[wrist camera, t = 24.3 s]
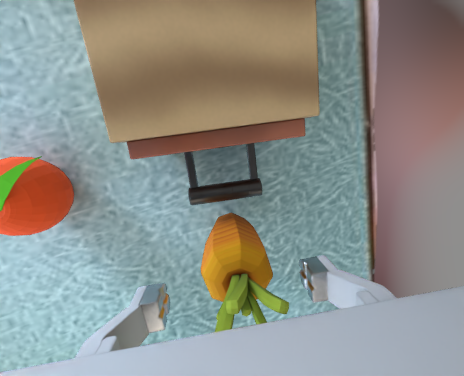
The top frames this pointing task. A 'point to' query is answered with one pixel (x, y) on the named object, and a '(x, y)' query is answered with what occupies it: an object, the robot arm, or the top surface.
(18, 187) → the clementine
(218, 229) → the carrot
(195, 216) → the top surface
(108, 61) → the cabinet
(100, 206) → the top surface
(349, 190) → the top surface
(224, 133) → the drawer
